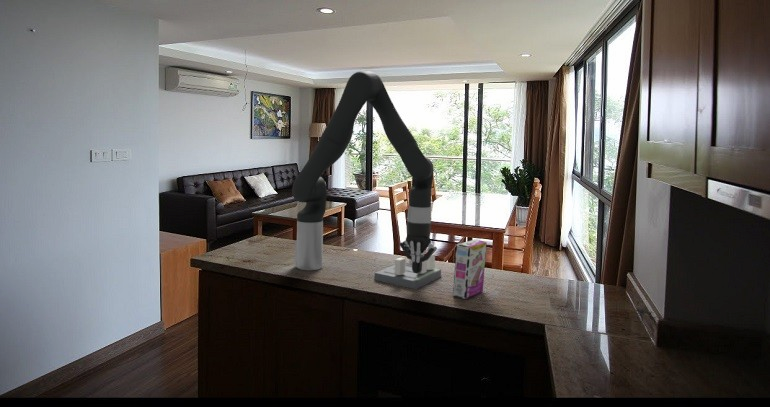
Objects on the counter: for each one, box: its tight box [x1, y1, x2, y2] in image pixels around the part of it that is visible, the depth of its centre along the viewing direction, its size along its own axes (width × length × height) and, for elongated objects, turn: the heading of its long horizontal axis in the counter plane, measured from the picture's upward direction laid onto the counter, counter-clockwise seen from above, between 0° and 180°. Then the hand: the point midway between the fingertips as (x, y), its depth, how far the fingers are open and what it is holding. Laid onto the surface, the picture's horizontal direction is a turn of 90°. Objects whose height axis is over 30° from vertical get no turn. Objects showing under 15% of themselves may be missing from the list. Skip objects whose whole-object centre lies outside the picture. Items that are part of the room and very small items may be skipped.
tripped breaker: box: [394, 257, 407, 275], centre depth 156 cm, size 2×4×5 cm, turn 148°
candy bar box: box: [452, 239, 488, 300], centre depth 146 cm, size 11×5×16 cm, turn 141°
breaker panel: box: [373, 253, 442, 290], centre depth 161 cm, size 16×18×8 cm
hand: (416, 272), depth 153 cm, fingers closed
